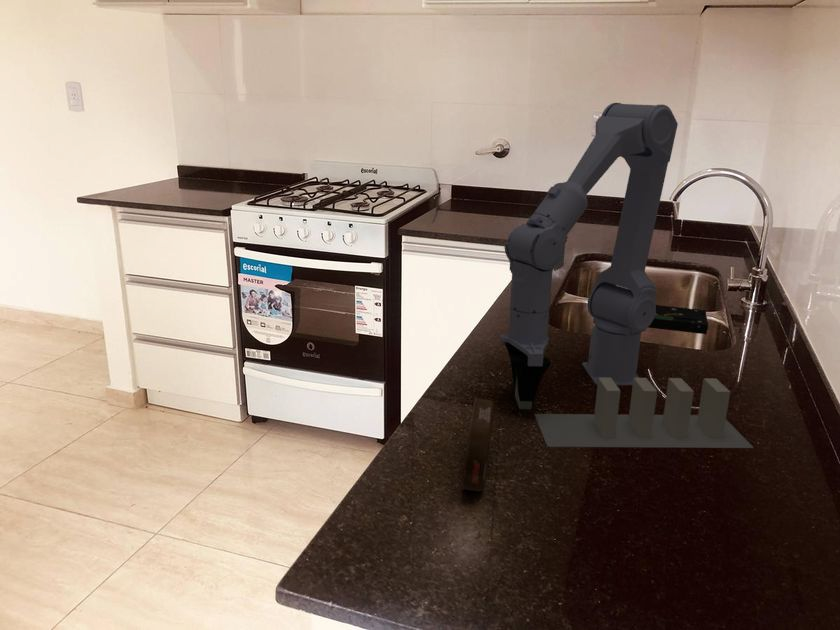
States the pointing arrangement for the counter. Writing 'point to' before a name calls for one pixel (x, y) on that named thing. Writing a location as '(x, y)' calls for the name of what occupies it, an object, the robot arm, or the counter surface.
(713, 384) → the domino
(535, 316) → the robot arm
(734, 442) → the mat
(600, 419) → the domino
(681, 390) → the domino
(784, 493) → the counter surface
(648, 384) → the domino
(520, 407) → the domino
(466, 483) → the dark translucent bar
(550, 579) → the counter surface
